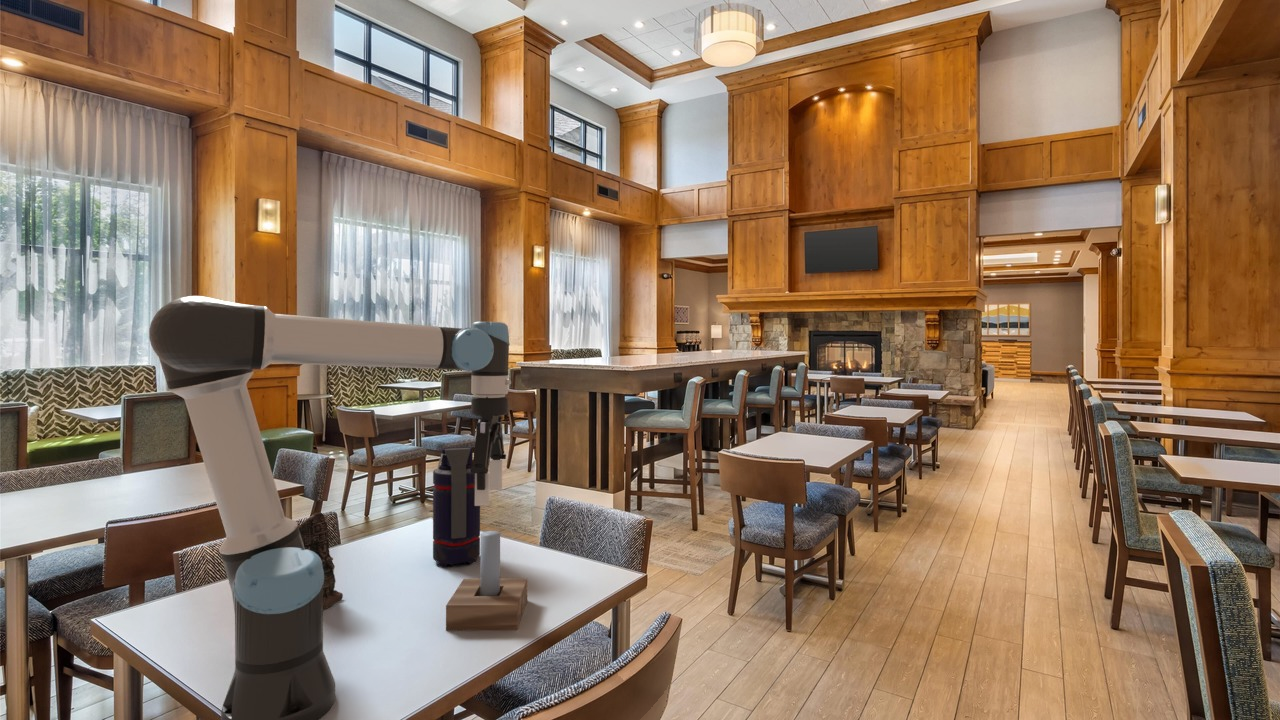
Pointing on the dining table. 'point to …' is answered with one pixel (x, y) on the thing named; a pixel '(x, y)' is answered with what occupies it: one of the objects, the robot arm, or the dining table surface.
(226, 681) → the dining table surface
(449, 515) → the grenade
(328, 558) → the statue
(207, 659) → the dining table surface
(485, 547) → the pin
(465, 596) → the socket block
